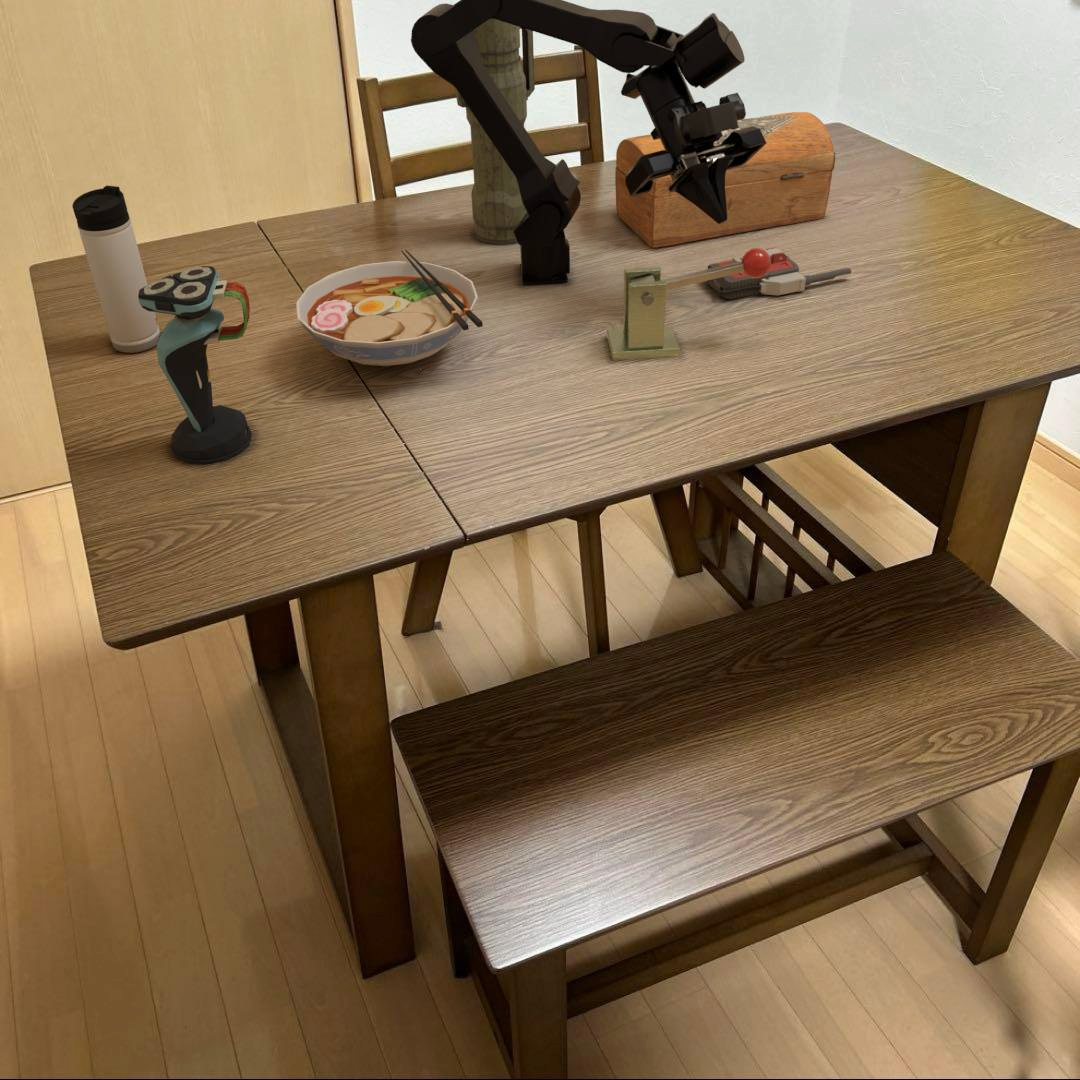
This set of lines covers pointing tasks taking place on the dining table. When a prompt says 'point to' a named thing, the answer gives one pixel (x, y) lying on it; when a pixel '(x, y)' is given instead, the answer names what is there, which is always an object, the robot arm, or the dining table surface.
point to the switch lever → (721, 270)
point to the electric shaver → (197, 361)
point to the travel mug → (116, 268)
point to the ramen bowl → (388, 311)
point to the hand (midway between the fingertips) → (723, 221)
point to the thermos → (493, 178)
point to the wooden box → (737, 184)
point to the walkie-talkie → (768, 278)
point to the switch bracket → (643, 320)
